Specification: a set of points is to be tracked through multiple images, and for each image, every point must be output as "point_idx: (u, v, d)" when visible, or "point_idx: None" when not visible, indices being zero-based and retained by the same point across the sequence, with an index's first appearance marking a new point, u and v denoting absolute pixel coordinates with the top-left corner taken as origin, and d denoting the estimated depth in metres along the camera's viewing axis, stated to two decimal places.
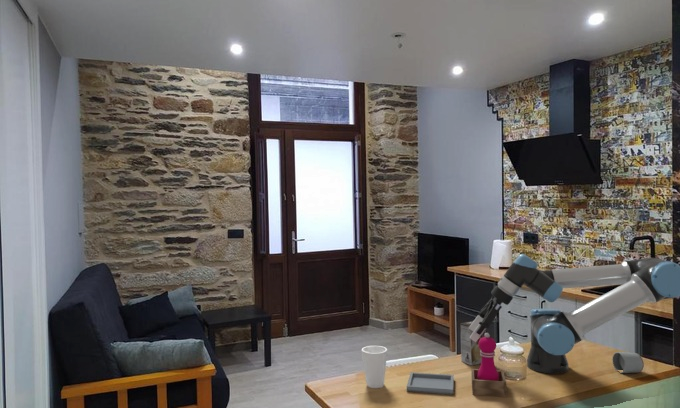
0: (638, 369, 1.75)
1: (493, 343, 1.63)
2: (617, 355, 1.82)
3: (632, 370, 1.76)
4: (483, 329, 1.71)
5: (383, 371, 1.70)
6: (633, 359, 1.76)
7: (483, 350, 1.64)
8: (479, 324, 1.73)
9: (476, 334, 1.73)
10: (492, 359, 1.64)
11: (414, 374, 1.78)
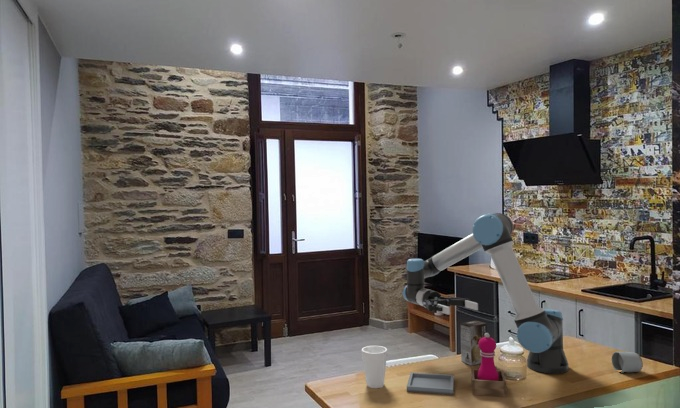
0: (637, 368, 1.76)
1: (493, 343, 1.63)
2: (616, 355, 1.82)
3: (631, 370, 1.76)
4: (436, 306, 1.79)
5: (383, 371, 1.70)
6: (632, 359, 1.76)
7: (483, 350, 1.64)
8: (438, 311, 1.80)
9: (443, 310, 1.77)
10: (492, 359, 1.64)
11: (414, 374, 1.78)
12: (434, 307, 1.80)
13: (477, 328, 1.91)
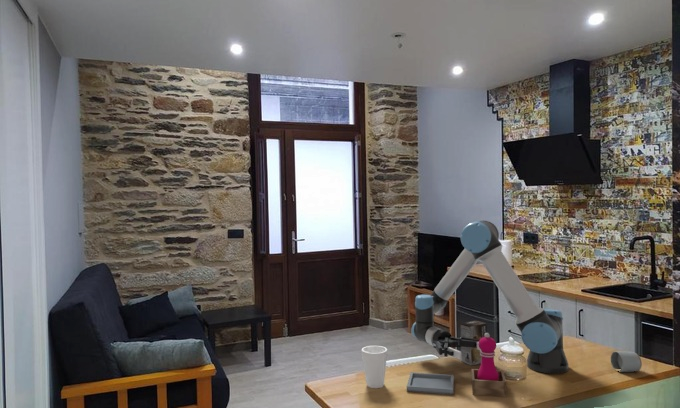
0: (636, 368, 1.76)
1: (493, 343, 1.63)
2: (615, 354, 1.83)
3: (630, 369, 1.77)
4: (446, 350, 1.72)
5: (383, 371, 1.70)
6: (631, 358, 1.77)
7: (483, 350, 1.64)
8: (448, 354, 1.73)
9: (455, 354, 1.70)
10: (492, 359, 1.64)
11: (414, 374, 1.78)
12: (445, 351, 1.73)
13: (477, 328, 1.91)
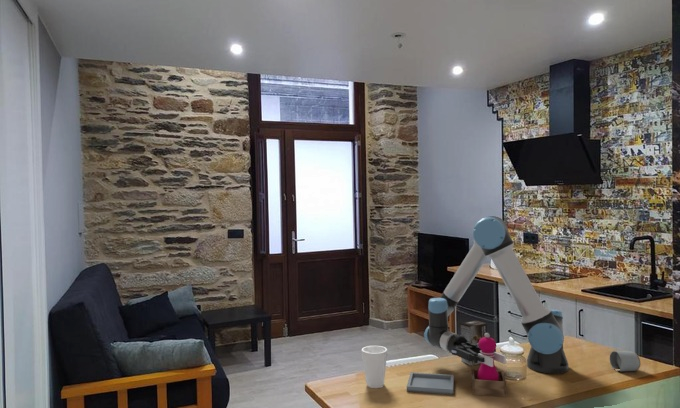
0: (635, 367, 1.77)
1: (493, 343, 1.63)
2: (614, 354, 1.83)
3: (629, 368, 1.77)
4: (476, 356, 1.64)
5: (383, 371, 1.70)
6: (630, 358, 1.77)
7: (483, 350, 1.64)
8: None
9: (486, 360, 1.62)
10: None
11: (414, 374, 1.78)
12: (475, 357, 1.65)
13: (477, 328, 1.91)
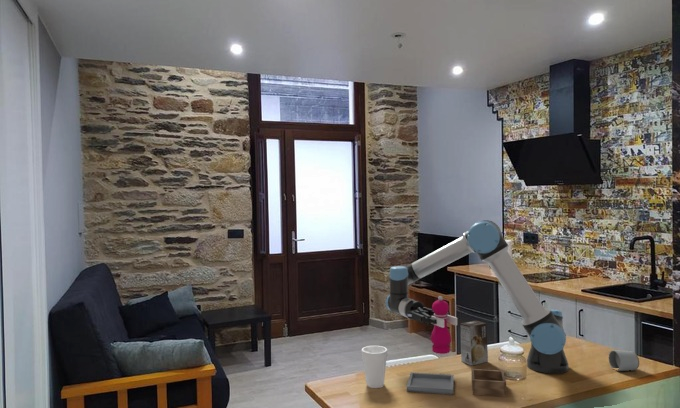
0: (634, 367, 1.78)
1: (445, 305, 1.67)
2: (613, 353, 1.84)
3: (628, 368, 1.78)
4: (429, 318, 1.68)
5: (383, 371, 1.70)
6: (629, 357, 1.78)
7: (436, 312, 1.68)
8: (432, 323, 1.69)
9: (438, 322, 1.66)
10: (445, 321, 1.68)
11: (414, 374, 1.78)
12: (428, 319, 1.69)
13: (477, 328, 1.91)
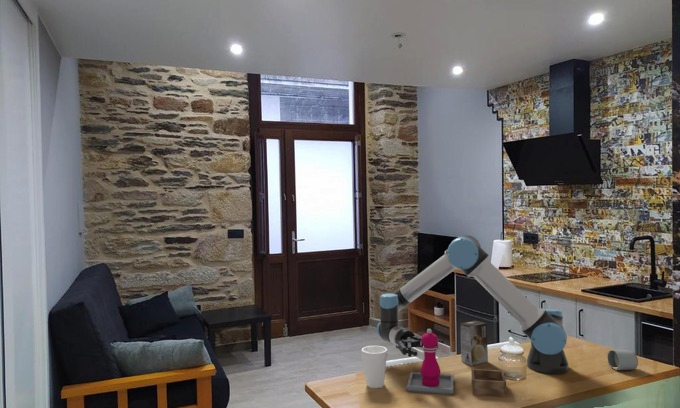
0: (632, 366, 1.78)
1: (434, 339, 1.68)
2: (612, 352, 1.85)
3: (626, 367, 1.79)
4: (410, 350, 1.69)
5: (383, 371, 1.70)
6: (628, 357, 1.79)
7: (425, 345, 1.69)
8: None
9: (418, 354, 1.67)
10: (434, 354, 1.69)
11: (414, 374, 1.78)
12: (408, 351, 1.70)
13: (477, 328, 1.91)
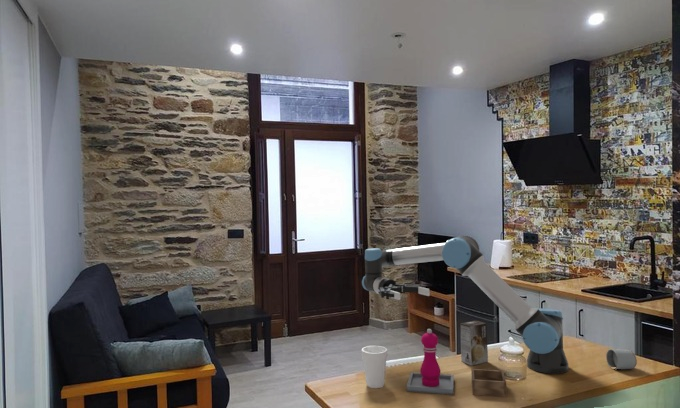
0: (631, 365, 1.79)
1: (434, 339, 1.68)
2: (611, 352, 1.85)
3: (625, 367, 1.79)
4: (388, 293, 1.83)
5: (383, 371, 1.70)
6: (626, 356, 1.79)
7: (425, 345, 1.69)
8: (390, 297, 1.84)
9: (395, 295, 1.80)
10: (434, 354, 1.69)
11: (414, 374, 1.78)
12: (386, 293, 1.83)
13: (477, 328, 1.91)
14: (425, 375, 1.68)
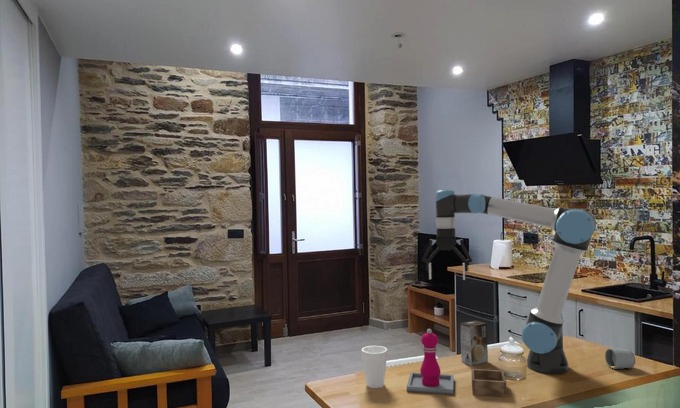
0: (630, 365, 1.80)
1: (434, 339, 1.68)
2: (610, 351, 1.86)
3: (624, 366, 1.80)
4: (426, 264, 1.95)
5: (383, 371, 1.70)
6: (625, 356, 1.80)
7: (425, 345, 1.69)
8: None
9: None
10: (434, 354, 1.69)
11: (414, 374, 1.78)
12: None
13: (477, 328, 1.91)
14: (425, 375, 1.68)
